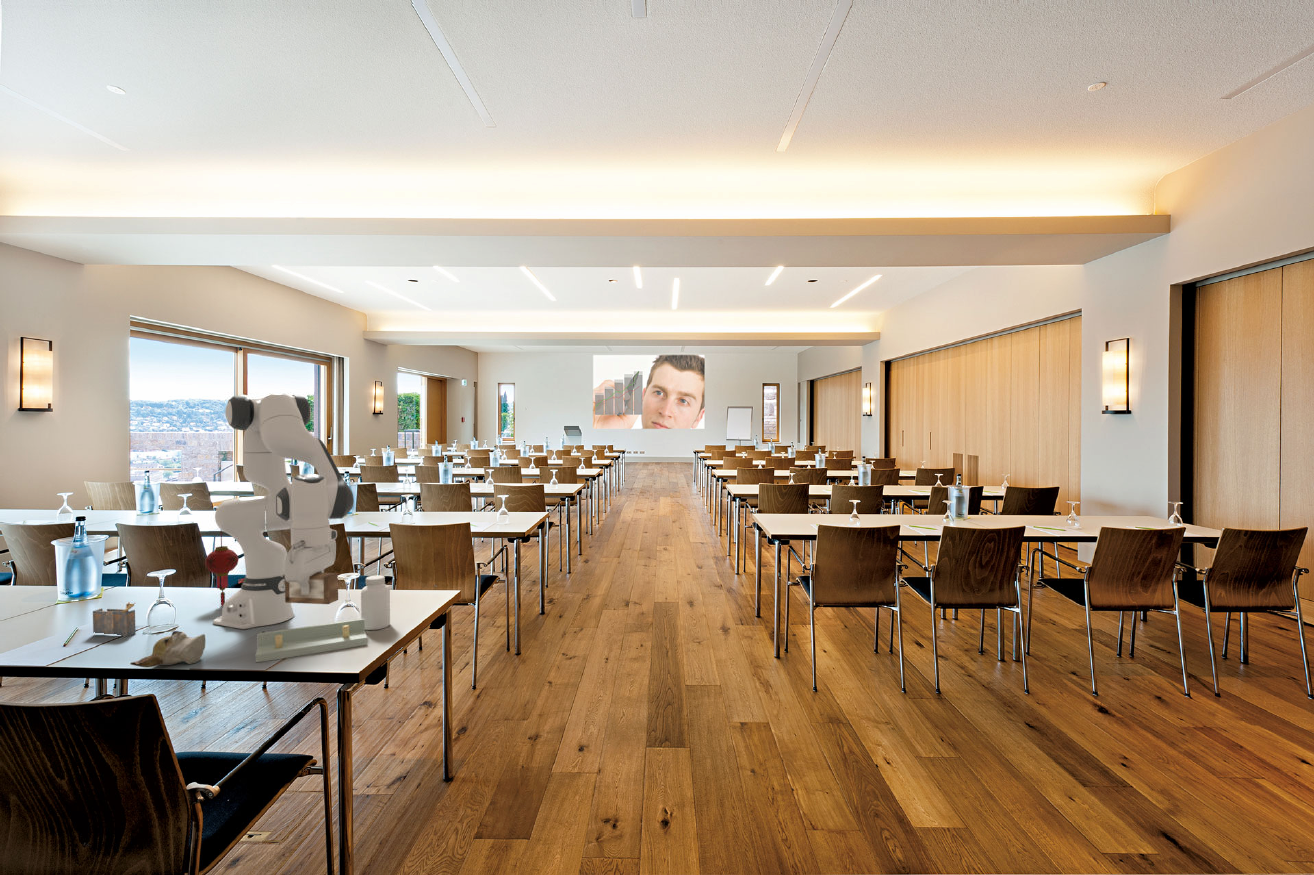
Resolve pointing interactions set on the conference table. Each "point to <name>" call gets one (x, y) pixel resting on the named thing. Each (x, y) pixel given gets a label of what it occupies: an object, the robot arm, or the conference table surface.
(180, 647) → the ceramic sculpture
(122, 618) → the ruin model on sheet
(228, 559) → the lantern
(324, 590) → the wooden box
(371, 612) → the pill bottle
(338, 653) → the conference table surface
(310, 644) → the ledge
